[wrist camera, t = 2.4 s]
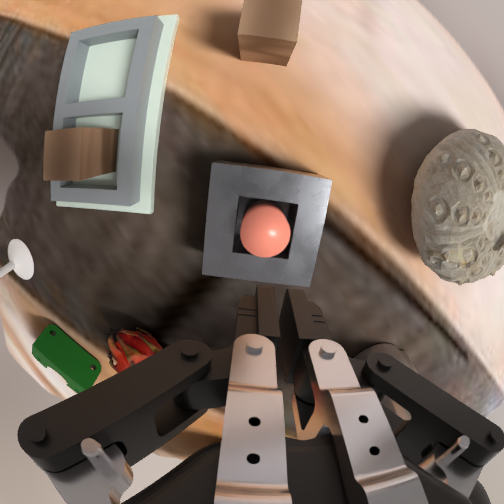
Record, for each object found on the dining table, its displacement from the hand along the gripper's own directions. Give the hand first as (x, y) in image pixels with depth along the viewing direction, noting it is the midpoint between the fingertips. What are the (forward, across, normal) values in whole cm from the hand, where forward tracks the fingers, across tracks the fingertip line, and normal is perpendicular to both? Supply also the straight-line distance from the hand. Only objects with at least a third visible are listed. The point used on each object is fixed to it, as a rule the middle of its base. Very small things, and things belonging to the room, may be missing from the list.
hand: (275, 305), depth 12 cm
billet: (+16, +18, -6) cm, 25 cm away
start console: (+17, 0, 0) cm, 17 cm away
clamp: (+17, +28, +26) cm, 42 cm away
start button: (+15, 0, 0) cm, 15 cm away
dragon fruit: (+17, +13, +20) cm, 29 cm away
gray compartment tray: (+17, +18, -10) cm, 27 cm away
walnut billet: (+17, +2, -18) cm, 25 cm away
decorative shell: (+17, -23, -6) cm, 29 cm away
